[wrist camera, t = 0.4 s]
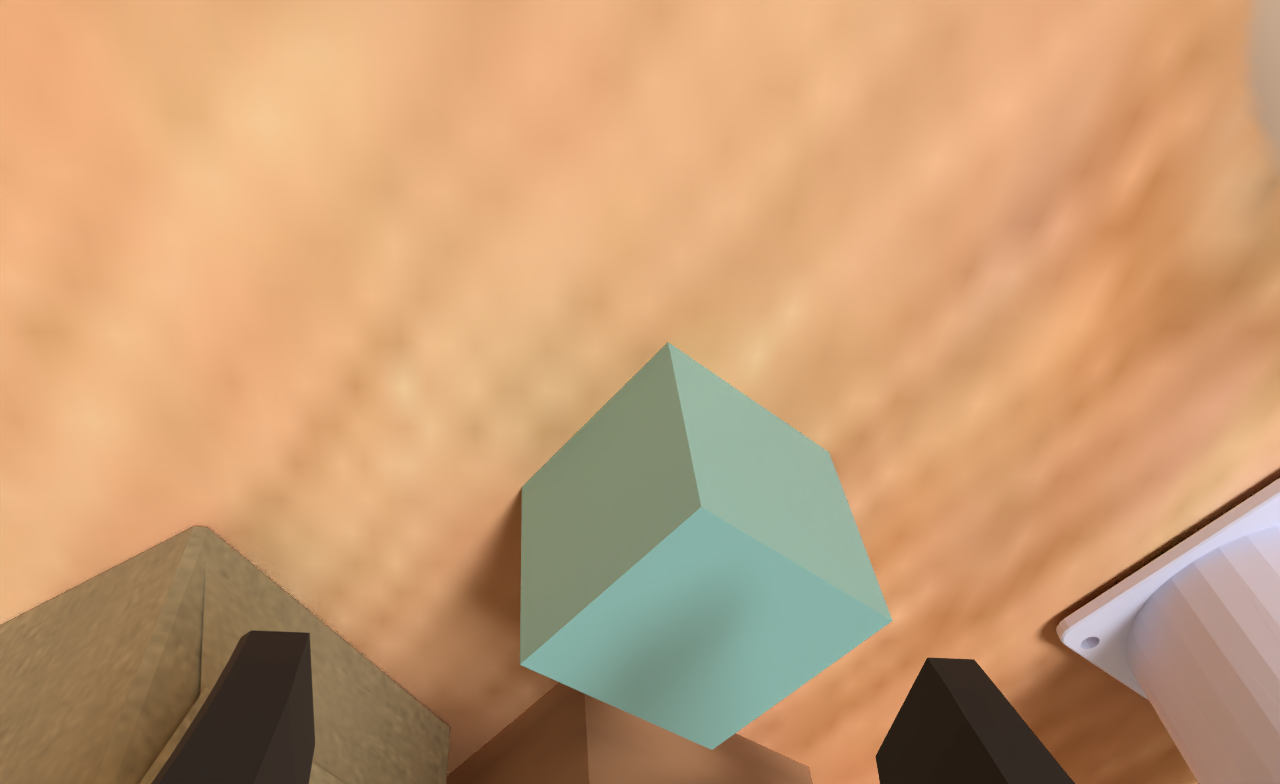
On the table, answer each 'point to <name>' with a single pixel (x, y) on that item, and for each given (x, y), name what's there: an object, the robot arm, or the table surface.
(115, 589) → the tissue box
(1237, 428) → the table surface
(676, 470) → the teal cube
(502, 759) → the walnut block
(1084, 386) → the table surface
